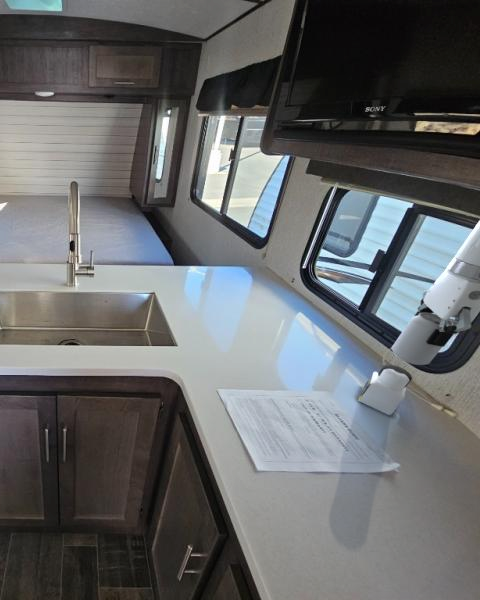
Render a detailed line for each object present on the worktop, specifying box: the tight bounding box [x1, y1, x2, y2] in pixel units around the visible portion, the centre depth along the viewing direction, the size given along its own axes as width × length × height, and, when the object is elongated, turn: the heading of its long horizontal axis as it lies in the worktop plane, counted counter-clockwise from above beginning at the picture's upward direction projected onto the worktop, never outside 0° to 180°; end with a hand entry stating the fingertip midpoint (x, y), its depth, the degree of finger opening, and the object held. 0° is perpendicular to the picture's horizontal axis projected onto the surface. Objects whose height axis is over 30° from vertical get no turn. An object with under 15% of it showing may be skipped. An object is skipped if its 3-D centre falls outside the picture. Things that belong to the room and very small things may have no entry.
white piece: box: [358, 364, 413, 416], centre depth 88 cm, size 7×7×12 cm
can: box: [391, 312, 453, 366], centre depth 79 cm, size 8×8×12 cm
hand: (425, 334), depth 78 cm, fingers closed on can, 7 cm apart
